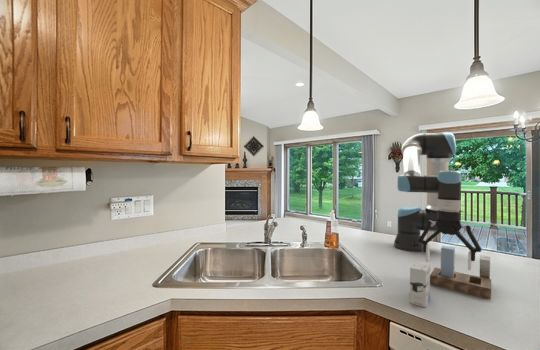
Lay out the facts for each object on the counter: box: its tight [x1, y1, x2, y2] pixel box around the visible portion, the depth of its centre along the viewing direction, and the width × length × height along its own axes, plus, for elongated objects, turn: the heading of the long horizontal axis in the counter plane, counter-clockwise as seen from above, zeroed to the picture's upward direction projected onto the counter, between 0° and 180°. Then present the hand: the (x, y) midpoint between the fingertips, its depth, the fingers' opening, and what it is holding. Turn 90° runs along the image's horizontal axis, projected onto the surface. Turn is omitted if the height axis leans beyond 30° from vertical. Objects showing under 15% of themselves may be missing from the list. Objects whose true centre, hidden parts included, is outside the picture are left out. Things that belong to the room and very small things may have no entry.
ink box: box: [409, 261, 431, 308], centre depth 88 cm, size 8×5×12 cm, turn 141°
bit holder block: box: [430, 267, 492, 300], centre depth 100 cm, size 18×11×4 cm, turn 49°
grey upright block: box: [479, 254, 491, 279], centre depth 103 cm, size 3×6×10 cm, turn 139°
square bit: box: [440, 245, 456, 278], centre depth 102 cm, size 4×4×14 cm
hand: (447, 264), depth 102 cm, fingers open, 13 cm apart
